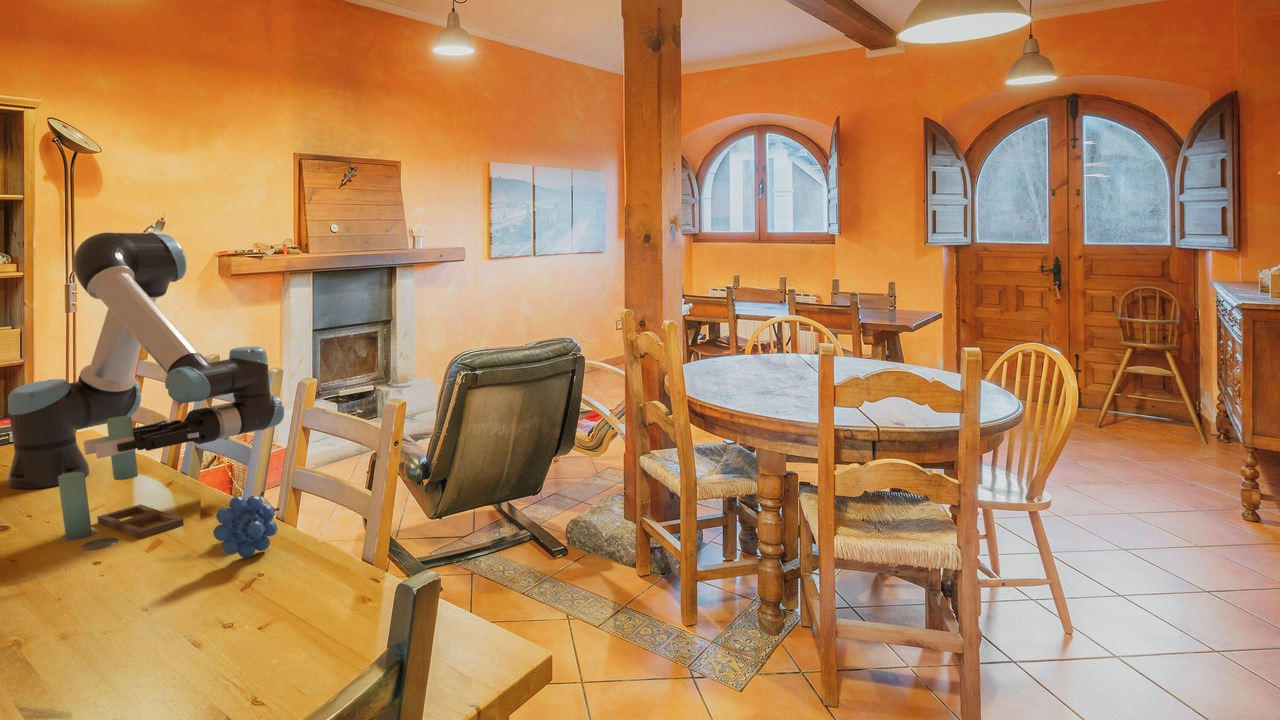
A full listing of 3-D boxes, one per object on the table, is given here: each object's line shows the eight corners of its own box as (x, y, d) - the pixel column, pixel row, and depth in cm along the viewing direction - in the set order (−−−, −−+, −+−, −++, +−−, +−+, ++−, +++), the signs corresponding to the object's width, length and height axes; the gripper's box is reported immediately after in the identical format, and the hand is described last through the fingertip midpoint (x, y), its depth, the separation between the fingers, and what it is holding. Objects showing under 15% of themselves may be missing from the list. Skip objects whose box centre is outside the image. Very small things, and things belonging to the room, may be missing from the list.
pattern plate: (51, 542, 141) (50, 536, 140) (98, 528, 147) (97, 522, 147) (93, 560, 133) (92, 554, 132) (140, 544, 139) (140, 538, 139)
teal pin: (114, 475, 148) (107, 417, 146) (138, 472, 150) (132, 415, 148) (112, 481, 144) (105, 421, 143) (137, 478, 146) (130, 419, 145)
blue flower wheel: (232, 575, 127) (225, 509, 125) (209, 566, 130) (203, 502, 128) (292, 550, 137) (287, 489, 135) (270, 543, 140) (265, 483, 138)
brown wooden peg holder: (98, 528, 147) (97, 516, 147) (141, 515, 154) (140, 504, 154) (140, 544, 139) (139, 532, 139) (184, 530, 146) (183, 518, 146)
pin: (67, 533, 142) (59, 473, 140) (93, 529, 144) (85, 470, 142) (64, 540, 138) (56, 479, 136) (90, 536, 140) (82, 476, 138)
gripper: (236, 445, 158) (115, 475, 138) (191, 435, 166) (71, 461, 146) (233, 411, 157) (111, 436, 137) (188, 402, 165) (67, 425, 145)
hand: (91, 449), depth 141 cm, fingers closed on teal pin, 4 cm apart
